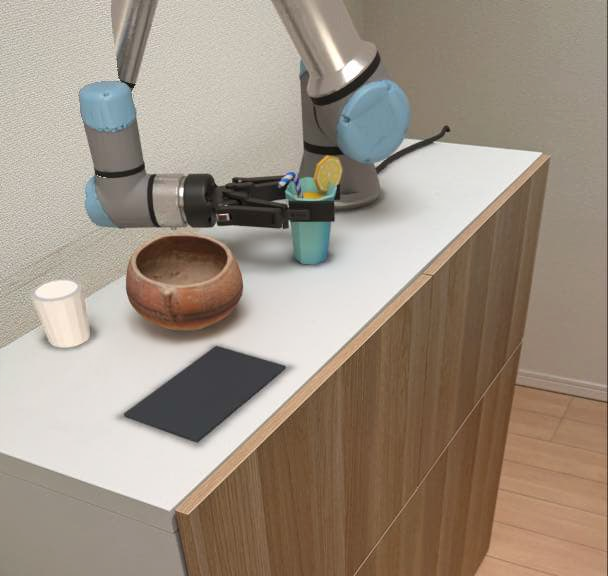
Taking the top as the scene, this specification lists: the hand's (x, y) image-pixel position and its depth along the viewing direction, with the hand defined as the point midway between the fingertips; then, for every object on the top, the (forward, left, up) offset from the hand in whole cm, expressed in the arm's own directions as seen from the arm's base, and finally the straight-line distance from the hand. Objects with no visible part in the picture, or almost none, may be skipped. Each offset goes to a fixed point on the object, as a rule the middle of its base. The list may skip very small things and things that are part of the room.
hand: (337, 200), depth 114 cm
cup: (+2, -4, -9) cm, 10 cm away
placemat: (+40, +5, -9) cm, 41 cm away
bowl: (+26, -9, -9) cm, 29 cm away
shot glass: (+38, -20, -9) cm, 44 cm away
